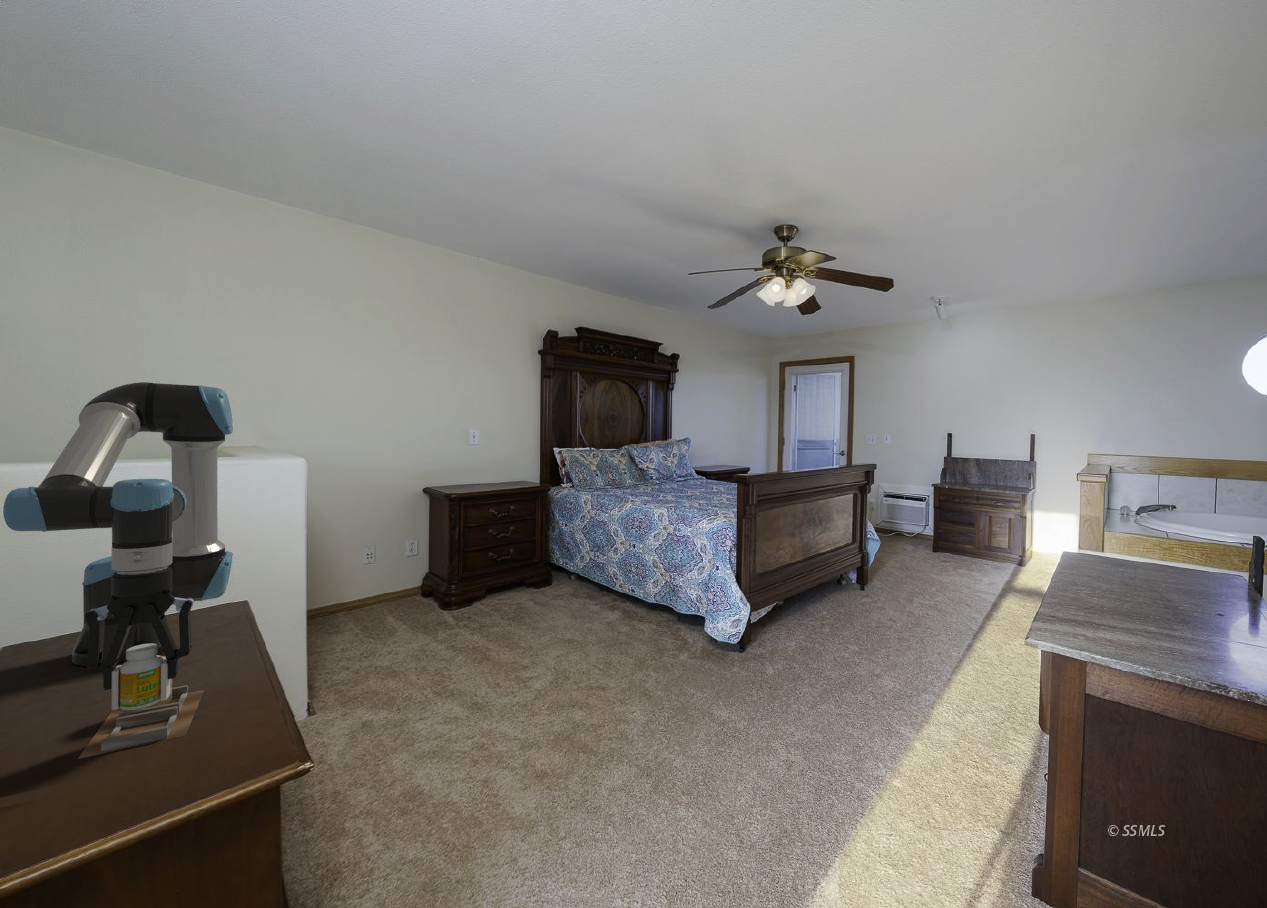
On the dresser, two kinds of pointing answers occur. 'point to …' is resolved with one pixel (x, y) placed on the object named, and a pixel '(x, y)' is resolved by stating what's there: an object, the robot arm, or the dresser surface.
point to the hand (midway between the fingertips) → (141, 701)
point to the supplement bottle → (140, 677)
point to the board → (145, 724)
